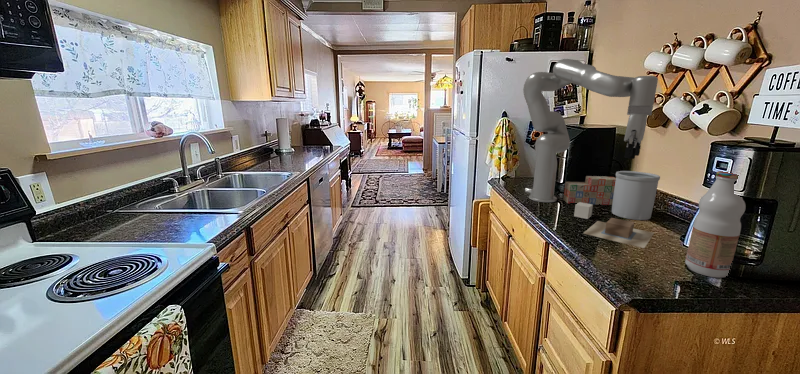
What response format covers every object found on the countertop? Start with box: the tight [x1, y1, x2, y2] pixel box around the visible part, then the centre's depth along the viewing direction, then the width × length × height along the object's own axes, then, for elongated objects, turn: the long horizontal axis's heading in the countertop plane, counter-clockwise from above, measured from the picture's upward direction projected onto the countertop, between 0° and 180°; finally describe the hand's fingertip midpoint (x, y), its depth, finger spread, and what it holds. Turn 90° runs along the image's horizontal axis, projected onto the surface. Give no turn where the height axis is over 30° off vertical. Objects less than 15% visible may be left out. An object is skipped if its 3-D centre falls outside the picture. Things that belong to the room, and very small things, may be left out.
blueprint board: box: [583, 220, 655, 249], centre depth 120 cm, size 18×18×1 cm
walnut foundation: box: [605, 217, 635, 238], centre depth 119 cm, size 7×7×4 cm
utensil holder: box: [611, 170, 661, 221], centre depth 140 cm, size 15×15×18 cm
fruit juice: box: [684, 170, 747, 279], centre depth 92 cm, size 9×9×28 cm
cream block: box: [573, 202, 594, 220], centre depth 137 cm, size 5×5×6 cm
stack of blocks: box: [562, 175, 616, 206], centre depth 158 cm, size 21×6×12 cm, turn 84°
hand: (631, 156), depth 130 cm, fingers open, 9 cm apart
